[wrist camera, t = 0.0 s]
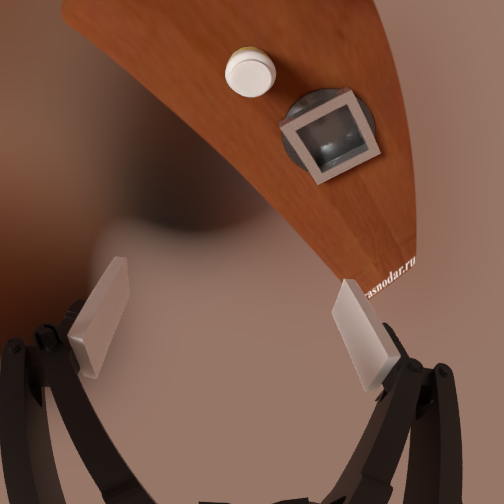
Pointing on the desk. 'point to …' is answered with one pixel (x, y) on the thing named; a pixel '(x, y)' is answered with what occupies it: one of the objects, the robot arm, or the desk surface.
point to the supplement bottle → (250, 72)
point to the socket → (329, 133)
